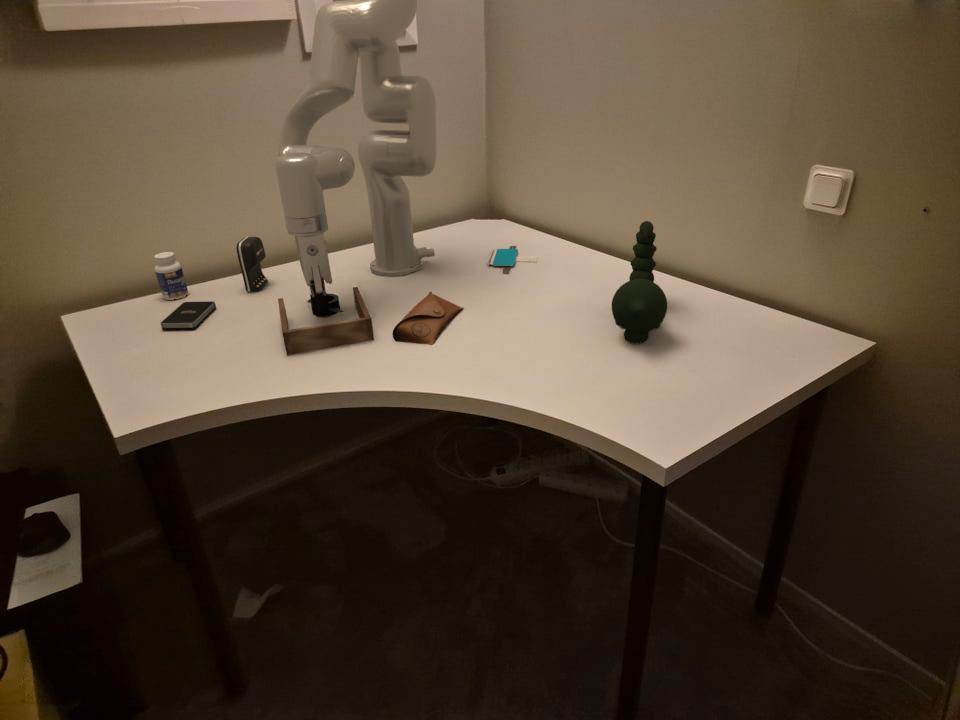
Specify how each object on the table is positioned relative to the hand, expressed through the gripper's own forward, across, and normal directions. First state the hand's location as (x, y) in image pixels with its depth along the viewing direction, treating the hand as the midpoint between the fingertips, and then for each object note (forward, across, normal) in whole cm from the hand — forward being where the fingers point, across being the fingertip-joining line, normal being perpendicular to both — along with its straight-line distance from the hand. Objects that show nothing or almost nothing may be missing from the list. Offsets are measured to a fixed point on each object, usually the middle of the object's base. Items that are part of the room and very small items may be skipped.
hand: (321, 312), depth 126 cm
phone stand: (+2, +18, -48) cm, 52 cm away
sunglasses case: (+2, -10, -20) cm, 22 cm away
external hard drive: (+2, +12, +26) cm, 28 cm away
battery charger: (+2, +25, +12) cm, 28 cm away
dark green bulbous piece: (+2, -27, -56) cm, 62 cm away
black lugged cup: (+2, +5, -1) cm, 6 cm away
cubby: (+2, -4, 0) cm, 4 cm away
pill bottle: (+2, +27, +30) cm, 40 cm away
